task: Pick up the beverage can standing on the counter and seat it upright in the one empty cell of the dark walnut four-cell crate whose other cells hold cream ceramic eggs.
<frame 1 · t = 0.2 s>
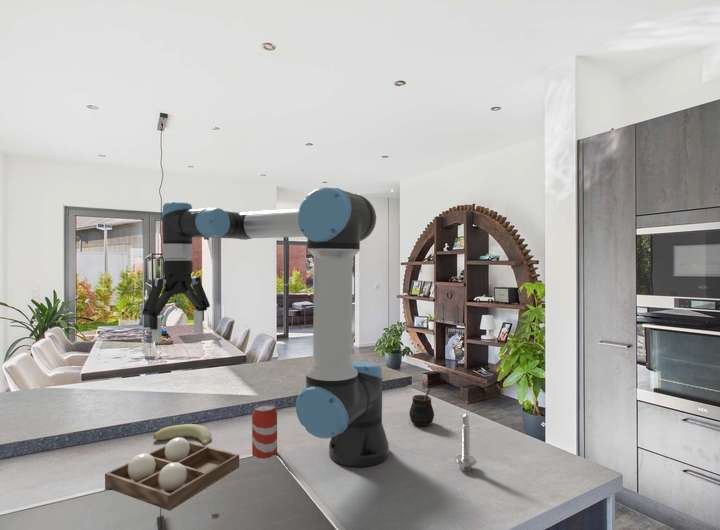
hand: (178, 337, 120), 28 cm above the counter, fingers open, 13 cm apart
crate: (175, 476, 99), on the counter
egg a: (177, 461, 106), resting on crate
mate gourd: (421, 424, 131), on the counter
beverage can: (264, 455, 111), on the counter
egg c: (142, 479, 97), resting on crate
egg b: (172, 489, 93), resting on crate
screw: (465, 469, 103), on the counter
fruit: (183, 441, 120), on the counter
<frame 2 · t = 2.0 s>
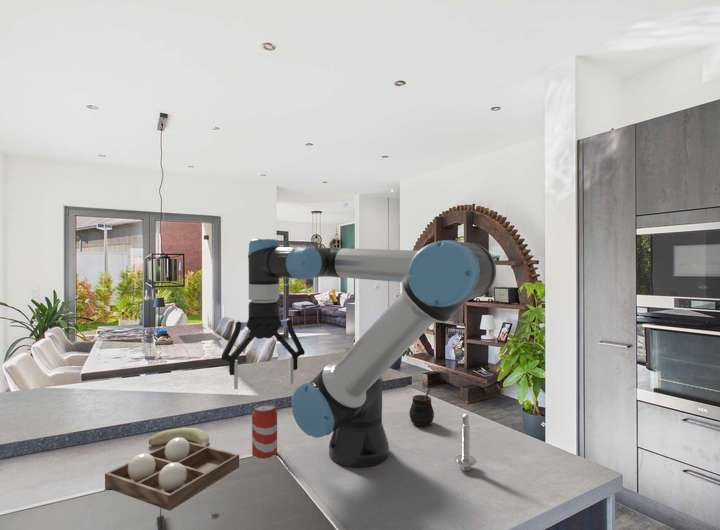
hand: (263, 385, 110), 17 cm above the counter, fingers open, 13 cm apart
fruit: (179, 445, 117), on the counter
everything else where it was.
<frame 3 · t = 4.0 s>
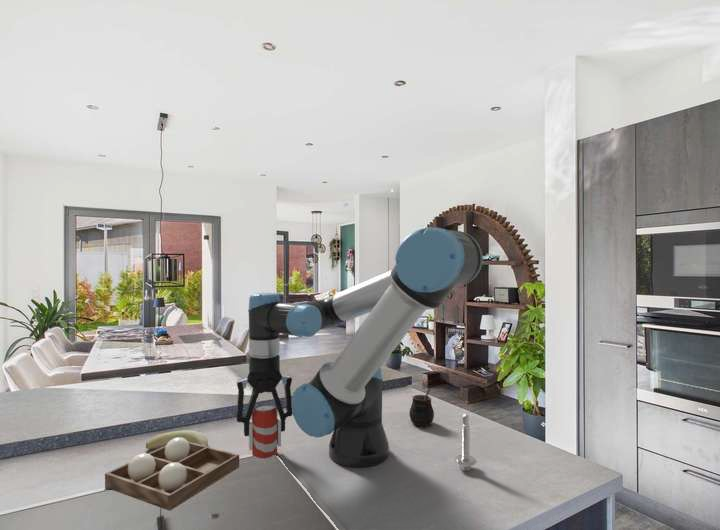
hand: (264, 445, 111), 2 cm above the counter, fingers closed on beverage can, 6 cm apart
beverage can: (264, 455, 111), on the counter, touching gripper
fruit: (177, 448, 115), on the counter
everything else where it was.
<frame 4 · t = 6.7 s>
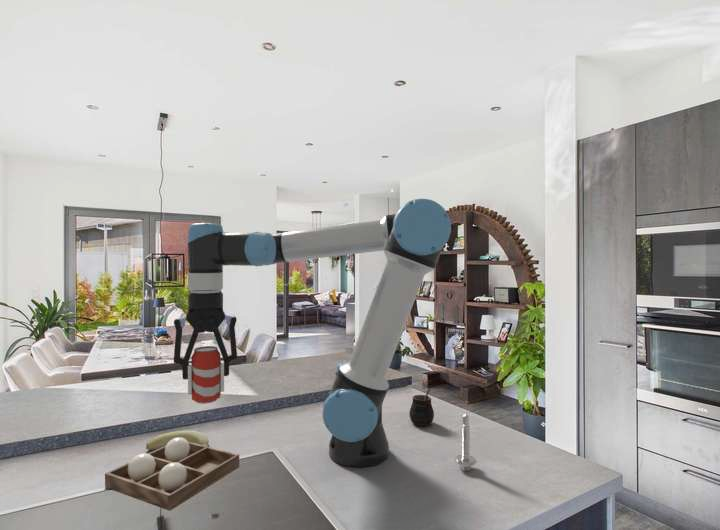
hand: (206, 391, 101), 19 cm above the counter, fingers closed on beverage can, 6 cm apart
beverage can: (206, 401, 101), point 16 cm above the counter, touching gripper
everything else where it was.
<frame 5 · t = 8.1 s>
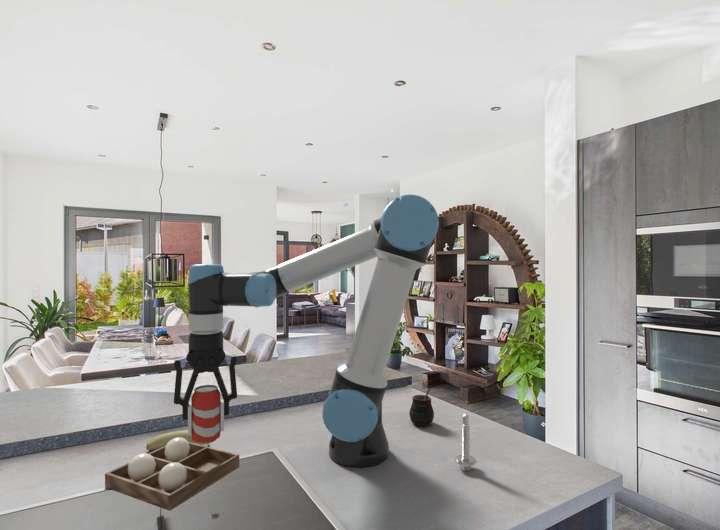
hand: (206, 430, 101), 10 cm above the counter, fingers closed on beverage can, 6 cm apart
beverage can: (206, 440, 102), point 7 cm above the counter, touching gripper
everything else where it was.
when the fingers open (5 cm above the counter, at t = 9.4 s): beverage can drops 2 cm, resting on crate.
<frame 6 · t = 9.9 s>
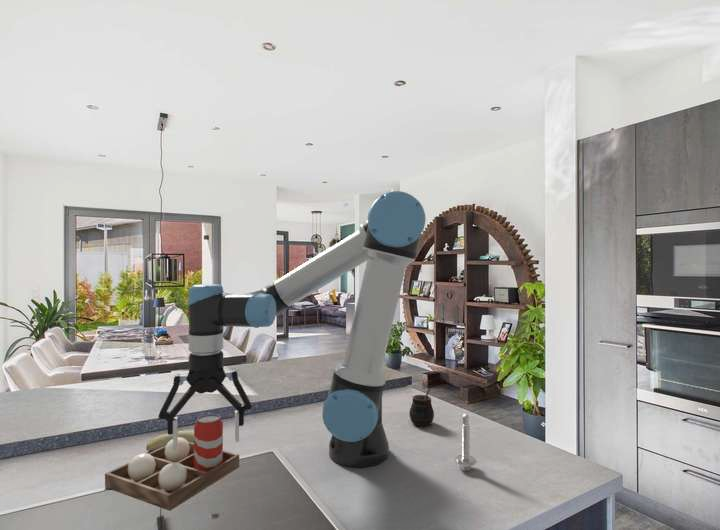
hand: (206, 443, 101), 7 cm above the counter, fingers open, 13 cm apart
beverage can: (208, 470, 102), resting on crate
everything else where it was.
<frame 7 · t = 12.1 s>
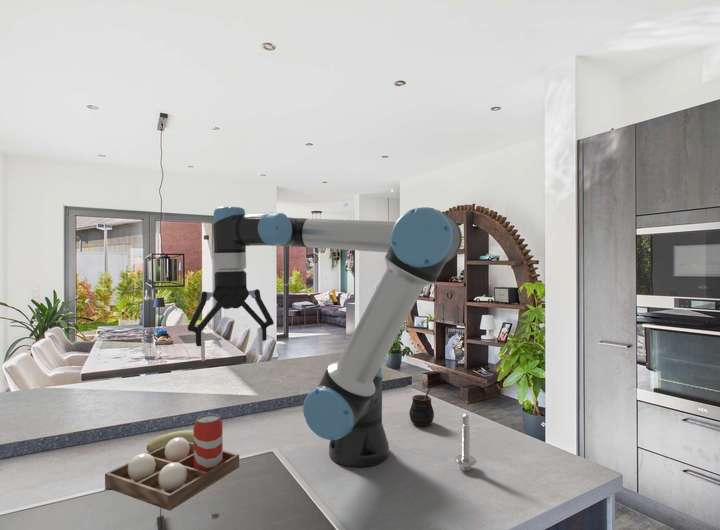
hand: (232, 356, 108), 25 cm above the counter, fingers open, 13 cm apart
nothing on the counter moved.
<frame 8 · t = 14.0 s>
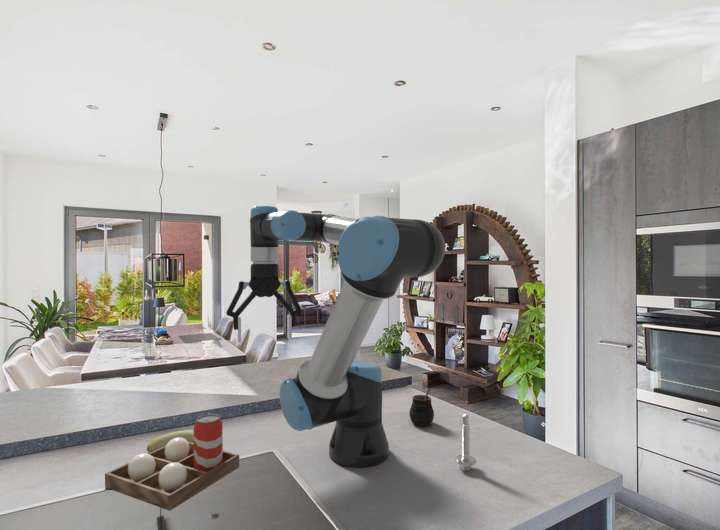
hand: (264, 340, 121), 27 cm above the counter, fingers open, 13 cm apart
fruit: (178, 449, 115), on the counter, touching crate
everything else where it was.
at the end: beverage can inside the target area on the crate (0.5 cm from its centre), point 0.3 cm above the crate's base; beverage can tilted 0°; the gripper is holding nothing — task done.
